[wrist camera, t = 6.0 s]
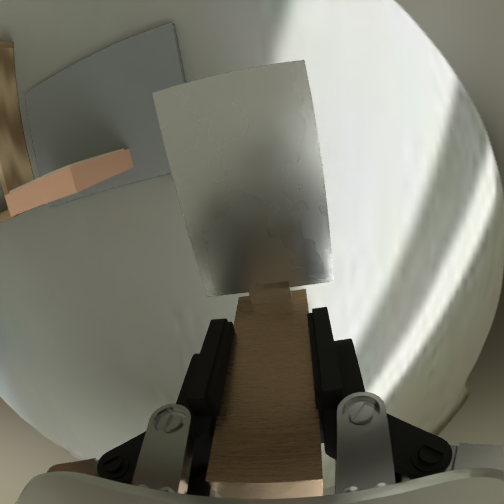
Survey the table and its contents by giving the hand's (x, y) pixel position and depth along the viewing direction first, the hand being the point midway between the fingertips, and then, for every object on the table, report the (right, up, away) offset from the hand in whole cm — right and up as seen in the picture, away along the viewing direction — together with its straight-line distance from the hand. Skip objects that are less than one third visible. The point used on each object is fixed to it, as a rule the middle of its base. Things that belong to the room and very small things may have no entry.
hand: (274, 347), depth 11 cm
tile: (-14, +10, +12) cm, 21 cm away
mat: (-14, +14, +11) cm, 23 cm away
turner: (-1, +4, 0) cm, 4 cm away
